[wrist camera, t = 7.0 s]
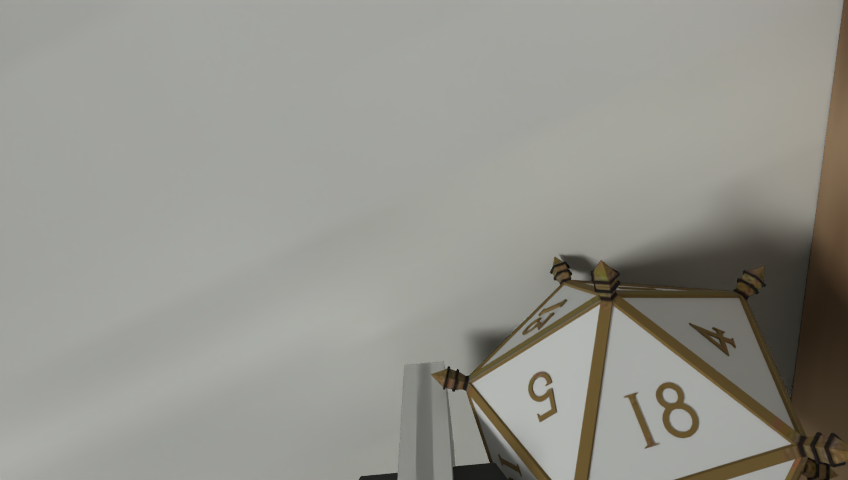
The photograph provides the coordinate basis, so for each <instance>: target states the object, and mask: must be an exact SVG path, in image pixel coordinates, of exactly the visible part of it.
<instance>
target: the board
mask: <svg viewBox="0 0 848 480" xmlns="http://www.w3.org/2000/svg"><path fill="white" fill-rule="evenodd" d="M791 402H792V404H793V407H794V409H795V411H796V413H797V416H798V418H799V420H800V422H801V425H802V427H803V429H804V432H805V434H806V436H807V437H811V436H815V434H816V433H817V432H820V433H821V434H823V435H825V436H830V434H831V433H835V434H836V435H837V436H838V437H839V438H840V439H841V440H842V441H843V442H844V443H846V444H847V445H848V0H844V4H843V11H842V19H841V27H840V34H839V42H838V49H837V57H836V65H835V72H834V80H833V87H832V95H831V103H830V110H829V118H828V125H827V133H826V141H825V148H824V156H823V163H822V171H821V179H820V186H819V194H818V201H817V209H816V217H815V224H814V232H813V239H812V247H811V255H810V262H809V270H808V277H807V285H806V292H805V300H804V308H803V315H802V323H801V330H800V338H799V346H798V353H797V361H796V368H795V376H794V384H793V391H792V399H791ZM828 464H829V463H828ZM830 468H831V469H832V470H833V471H834V472H835V473H836V474H837V475H838V476H837V477H834V478H831V479H830V480H848V461H846V465H842V466H838V467H831V466H830ZM799 480H807V477H805V476H804V475H801V477H800V479H799Z"/></svg>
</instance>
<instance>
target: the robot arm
mask: <svg viewBox="0 0 848 480" xmlns="http://www.w3.org/2000/svg"><path fill="white" fill-rule="evenodd" d="M442 370H445V364H444V361H442V362H432V363H420V364H410V365H404V376H403V393H402V410H401V427H400V444H399V461H398V473H391V474H380V475H369V476H361V477H360V479H359V480H508V479H507V477H506V476H505V475H504V473H503V472H502V471H501V470H500V468H499V467H498V466H497V464H496V463H487V464H476V465H465V466H455V456H454V443H453V434H452V425H451V416H450V408H449V399H448V390H447V388H445V390H443V387H442V386H441V385H440V384H439V383H438V382H437V381H436V380H435V379H434V378H433V377H432V376H431V375H430V374H433V373H436V372H439V371H442Z"/></svg>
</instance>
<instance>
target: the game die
mask: <svg viewBox="0 0 848 480" xmlns="http://www.w3.org/2000/svg"><path fill="white" fill-rule="evenodd" d="M568 268H569V265H568V264H567V263H566V262H562V261H561V260H559V259H557V258H556V257H554V262H553V267H552V269H551V271H550V273H551V274H553V275H554V280H557V281H558V282H559V283H560V286H559V287H558V288H557V289H556V290H555V291H554V292H553V293H552V294H551V295H550V296H549V297H548V298H547V299H546V300H545V301H544V302H543V303H542V304H541V305H540V306H539V307H538V308H537V309H536V310H535V311H534V312H533V313H532V314H531V315H530V316H529V317H528V318H527V319H526V320H525V321H524V322H523V323H522V324H521V325H520V326H519V327H518V328H517V329H516V330H515V331H514V332H513V333H512V334H511V335H510V336H509V337H508V338H507V339H506V340H505V341H504V342H503V343H502V344H501V345H500V346H499V347H498V348H497V349H496V350H495V351H494V352H493V353H492V354H491V355H490V356H489V357H488V358H487V359H486V360H485V361H484V362H483V363H482V364H480V365H479V366H478V367H477V368H476V369H475V370H474V371H473V372H472V373H471V374H470V375H469V376H465V375H463V374H462V373H460V372H459V370H458V369H457V371H455V370H451V369H450V367H449V366H448V368H447V369H445V370H442V371H439V372H436V373H433V374H430V375H431V376H432V377H433V378H434V379H435V380H436V381H437V382H438V383H439V384H440V385H441V386H442V387H443V390H445V388H448V389H452V391H454V392H455V390H459V389H463V390H465V391H466V392H467V395H468V398H469V401H470V404H471V407H472V410H473V413H474V416H475V419H476V422H477V425H478V428H479V431H480V434H481V437H482V440H483V443H484V447H485V450H486V453H487V456H488V459H489V462H490V463H496V464H497V466H498V467H499V468H500V470H501V471H502V472H503V473H504V475H505V476H506V477H507V479H508V480H799V479H800V477H801V475H804V476H805V477H807V480H830V479H831V478H834V477H837V476H838V475H837V474H836V473H835V472H834V471H833V470H832V469H831V468H830V466H831V467H838V466H842V465H846V461H848V445H847V444H846V443H844V442H843V441H842V440H841V439H840V438H839V437H838V436H837V435H836V434H835V433H831V434H830V436H825V435H823V434H821V433H820V432H817V433H816V434H815V436H811V437H807V436H806V434H805V432H804V429H803V427H802V425H801V422H800V420H799V418H798V416H797V413H796V411H795V409H794V407H793V404H792V402H791V400H790V398H789V395H788V393H787V391H786V388H785V386H784V384H783V382H782V379H781V377H780V375H779V373H778V370H777V368H776V366H775V363H774V361H773V359H772V357H771V354H770V352H769V350H768V348H767V345H766V343H765V341H764V339H763V336H762V334H761V332H760V329H759V327H758V325H757V323H756V320H755V318H754V316H753V314H752V311H751V309H750V307H749V305H748V302H747V299H748V297H750V296H751V295H753V294H758V293H759V291H758V290H759V289H760V288H761V287H765V286H766V284H765V283H764V266H763V267H760V268H757V269H753V270H750V271H745V270H744V271H743V276H742V278H741V279H740V278H738V279H737V282H738V284H737V287H736V289H735V290H733V291H728V290H713V289H698V288H683V287H668V286H654V285H639V284H624V283H620V282H619V281H618V280H617V277H618V276H619V275H620V273H619V272H617V271H616V270H614V269H612V268H610V267H609V266H608V265H607V264H605V263H604V262H603V261H602V260H601V261H600V262H599V264H598V266H597V267H596V269H595V270H593V271H591V276H592V281H579V280H571V275H572V272H571V271H570V270H569V269H568ZM828 463H829V464H828Z"/></svg>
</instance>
